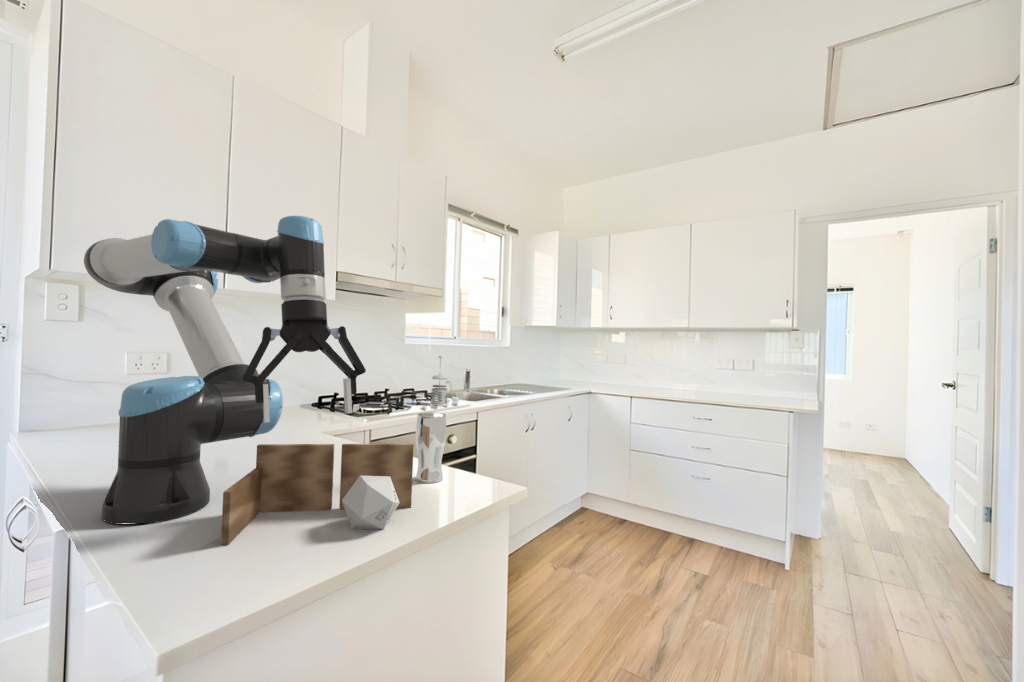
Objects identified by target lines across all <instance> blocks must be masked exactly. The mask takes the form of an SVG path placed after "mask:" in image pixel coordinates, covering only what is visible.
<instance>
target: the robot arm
mask: <svg viewBox="0 0 1024 682" xmlns="http://www.w3.org/2000/svg"><path fill="white" fill-rule="evenodd" d="M276 232H277V234H278V235H277V236H274V237H271V238H269V239H260V238H257V237H252V236H248V235H245V234H244V235H243V234H239V233H234V232H230V231H225V230H221V229H218V228H217V229H216V228H211V227H208V226H204V225H200V224H196V223H192V222H191V221H186V220H185V221H184V220H183V221H182V220H176V219H172V218H171V219H169V218H166V219H162V220H160V221H159V222H158V223H157V225H156V226H155V227H154V229H153V232H152V233H151V234H148V235H147V234H146V235H144V236H139V237H134V238H130V239H125V238H119V237H109V238H106V239H102V240H99V241H97V242H95V243H93V244H91V245H90V246H89V247H88V248H87V250H86V251H85V253H84V257H83V265H84V268H85V270H86V272H87V274H88V275H89V276H90V277H91V278H92V279H93V280H94V281H96V282H97V284H100V285H102V286H103V287H106V288H108V289H110V290H113V291H116V292H120V293H124V294H133V295H140V296H149V297H151V296H152V297H153V299H154V300H155V303H156V304H157V306H158V307H159V308H161V309H162V310H164V311H166V312H169V314H170V316H171V319H172V321H173V323H174V325H175V327H176V329H177V332H178V334H179V336H180V338H181V340H182V343H183V344H184V348H185V349H186V352H187V354H188V356H189V358H190V360H191V362H192V365H193V367H194V369H195V371H196V373H197V375H198V376H197V375H183V376H171V377H169V376H168V377H161V378H154V379H149V380H148V379H147V380H143V381H140V382H136V383H132V384H130V385H129V386H127V387H126V388H124V390H122V394H121V400H120V407H119V409H118V416H119V431H118V432H119V433H118V453H117V459H118V460H117V470H116V474H115V476H114V478H113V480H112V482H111V485H110V486H109V489H108V492H107V493H106V496H105V498H104V499H103V502H102V506H101V507H102V508H101V519H102V520H103V521H104V520H105V521H107V522H106V523H108V522H112V523H144V524H148V523H147V522H152V523H157V521H158V522H163V521H164V522H165V521H169V520H172V519H177V518H180V517H185V516H187V515H190V514H192V513H195V512H197V511H199V510H202V509H203V508H204V507H206V506H208V505H209V503H210V498H211V497H210V496H211V490H210V489H211V488H210V486H209V482H208V479H207V477H206V475H205V471H204V469H203V465H202V464H201V447H202V445H204V444H209V443H216V442H217V443H218V442H223V441H229V440H233V439H234V440H237V439H241V438H247V437H248V438H253V437H255V436H257V435H264V434H266V433H269V432H271V431H272V430H273V429H274V428H276V426H277V424H278V423H279V421H280V419H281V417H282V416H281V415H282V411H283V405H284V401H283V399H284V398H283V396H284V395H283V392H282V389H281V386H280V384H279V383H278V382H277V381H276V380H273V379H269V378H268V377H269V376H270V375H271V374H272V373H273V372H274V370H275V369H276V368H277V367H278V366H279V365H280V363H282V361H283V360H284V359H285V357H286V356H287V355H288V354H289V353H290V352H291V351H293V352H296V353H303V352H309V353H312V352H313V353H315V352H317V351H320V352H322V353H323V354H324V355H325V356H326V357H327V358H328V359H329V360H330V361H331V362H332V363H333V364H334V365H335V366H336V367H337V368H338V369H339V370H340V371H341V372H342V374H345V376H346V378H342V382H343V399H344V400H343V401H344V413H345V414H352V413H353V401H352V395H354V396H355V395H357V377H358V376H360V375H364V374H365V373H366V371H367V370H366V368H365V366H364V364H363V362H362V361H361V359H360V357H359V356H358V354H357V352H356V351H355V348H354V347H353V345H352V344H351V342H350V339H349V338H348V336H347V330H346V327H345V326H343V325H341V326H340V327H335V328H330V327H329V325H328V316H327V315H328V314H327V312H328V311H327V303H326V302H325V300H326V299H327V294H326V293H327V292H326V280H325V279H326V278H325V275H326V274H325V273H326V272H325V270H326V269H325V248H324V246H325V241H324V237H323V229H322V225H321V223H320V222H319V221H318V220H316V219H314V218H311V217H308V216H303V215H288V216H284V217H282V218H279V221H278V225H277V231H276ZM218 273H221V274H222V273H223V274H228V275H233V276H239V277H242V278H244V279H246V280H247V281H249V282H251V283H255V284H262V283H271V282H275V281H277V280H280V281H279V283H280V299H281V300H282V301H283V302H282V303H281V306H280V307H281V328H279V329H278V328H271V327H269V326H266V327H264V328H263V329H262V337H261V342H260V344H259V345H258V348H257V350H256V351H255V353H254V355H253V356H252V359H251V360H250V363H245V362H244V360H243V358H242V357H241V355H240V353H239V351H238V348H237V346H236V345H235V342H234V341H233V339H232V337H231V335H230V333H229V331H228V329H227V326H225V324H224V321H223V320H222V317H221V316H220V314H219V311H218V310H217V308H216V306H215V304H214V302H213V300H212V299H213V297H214V296H215V294H216V292H217V290H218V287H219V286H218V285H219V279H218V278H217V276H218ZM331 335H332V336H333V338H334V339H335V340H338V343H339V344H340V346H341V348H342V350H343V351H344V354H345V355H346V357H347V359H348V361H349V362H350V364H351V365H352V367H353V368H352V367H351V366H350V365H349V364H348V363H347V362H346V360H344V359H343V358H342V357H341V356H340V355H339V354H338V353H337V352H336V351H335V350H334V348H332V346H331V345H330V344H329V343H328V342H327V340H328V339H329V337H330V336H331ZM278 336H279V337H280V338H281V339H282V340H283V342H284V343H285V345H284V346H283V347H282V348H281V350H279V352H278V353H277V354H276V355H275V356H274V357H273V359H272V360H271V361H270V362H269V363H268V364H267V365H266V367H265V368H264V369H263V370H262V371H261V372H260V373H259V372H258V370H257V368H258V366H259V364H260V361H261V360H262V358H263V356H264V354H265V352H266V351H267V349H268V346H269V345H270V342H273V341H274V340H275V339H276V337H278ZM105 521H104V522H105ZM112 523H111V524H112Z"/></svg>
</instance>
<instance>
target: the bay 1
mask: <svg viewBox="0 0 1024 682" xmlns="http://www.w3.org/2000/svg"><path fill="white" fill-rule="evenodd" d="M255 461H256V462H255V468H253V469H252V470H251V471H250V472H247V474H246V475H244V476H243V477H242V478H241V479H239V480H237V481H236V482H235V483H233V484H232V485H230V487H228V488H227V489H225V490H224V491H223V492H222V508H221V509H222V511H221V512H222V515H221V534H220V535H221V537H220V538H221V539H220V546H229V545H230V544H231V543H232V542H233V541H234V540H235V539H236V538H237V537H238V536H239V535H240V534H241V532H243V530H245V529H246V528H247V526H248V525H250V524H251V523H252V521H254V519H255V518H256V517H257V516H258V515H259V514H261V513H279V512H280V513H281V512H287V513H288V512H309V511H310V512H311V511H315V512H318V511H331V510H332V508H333V491H334V490H333V489H334V488H333V487H334V486H333V485H334V465H335V464H334V463H335V443H297V444H296V443H280V444H279V443H277V444H273V443H269V444H268V443H267V444H266V443H262V444H260V443H259V444H257V445H256V460H255Z"/></svg>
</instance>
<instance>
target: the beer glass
mask: <svg viewBox="0 0 1024 682" xmlns="http://www.w3.org/2000/svg"><path fill="white" fill-rule="evenodd" d="M446 438H447V414H446V413H445V412H444V413H443V412H438V411H437V412H436V411H434V412H433V411H430V412H428V411H426V412H420V413H417V416H416V424H415V444H416V446H415V447H416V453H417V461H418V462H417V465H418V466H417V471H416V474H415V475H416V476H415V480H416V481H417V483H418V482H419V483H421V484H422V483H423V484H436V483H439V482H441V481H442V480H443V478H444V476H443V469H442V462H443V461H442V460H443V455H444V452H445V451H444V449H445V446H446V440H447V439H446Z"/></svg>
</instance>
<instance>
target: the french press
mask: <svg viewBox="0 0 1024 682" xmlns="http://www.w3.org/2000/svg"><path fill="white" fill-rule="evenodd" d="M438 358H439V359H440V360H439V364H440V365H439V368H441V364H442V359H443V356H442V355H439V356H438ZM431 379H432V380H446V381H445V384H444V385H443V384H441V383H440V382H441V381H439V384H432V387H433V388H431V399H430V400H431V402H430V403H429V404H432V405H437V406H436V407H447V406H449V404H448V396H449V395H451V394H452V392H453V390H452V389H450V391H449V392H448V388H447V384H449V387H452V386H453V384H452V383H451V382H450V381H449V380H448V377H447V376H446V375H444V374H441V373H438V374H436V375H433V376H432V377H431Z"/></svg>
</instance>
